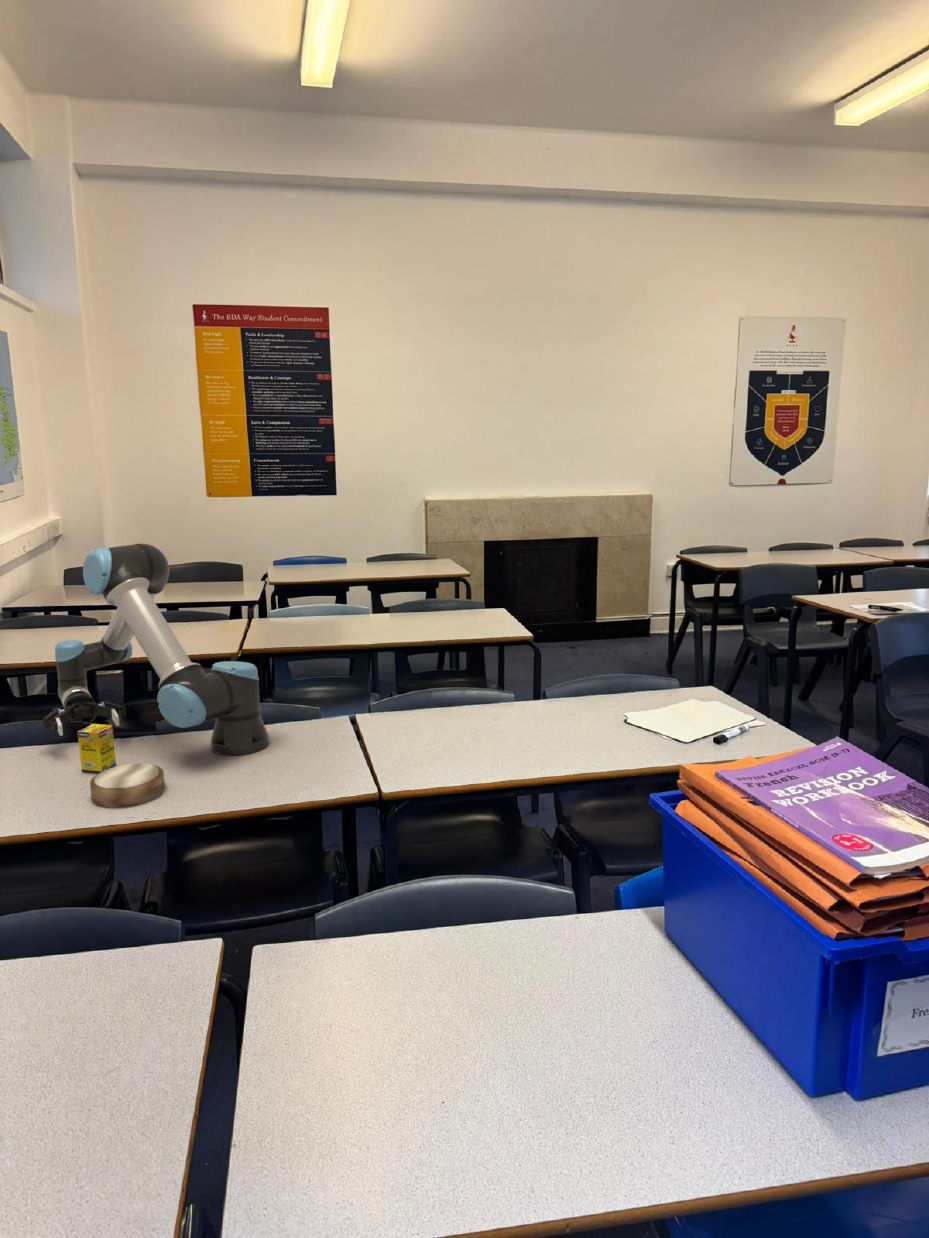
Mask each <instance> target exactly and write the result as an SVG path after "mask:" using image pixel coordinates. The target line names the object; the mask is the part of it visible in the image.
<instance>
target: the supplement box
mask: <svg viewBox="0 0 929 1238" xmlns="http://www.w3.org/2000/svg"><path fill="white" fill-rule="evenodd" d="M77 739H78V745H79V746H78V747H79V749H78V750H79V756H80V758H79V759H80V765H81V766H80V767H81V772H82V773H85V774H97V773H101V772H103V771H105V770H107V769H110V768H113V767H116V766H117V761H116V750H115V740H114V729H113V725H112V724H100V723H91V724H90V725H88V726H86V727H85V728H82V729H80V730H78V731H77Z"/></svg>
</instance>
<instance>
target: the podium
mask: <svg viewBox="0 0 929 1238" xmlns="http://www.w3.org/2000/svg"><path fill="white" fill-rule="evenodd" d="M164 773H165V772H164V770H163V768H162V767H160V766H158V765H155V764H150V763H149V764H148V763H128V764H122V765H121V764H120V765H116V766H114V767H112V768H110V769H107V770H105V771H103V772H101V773H99V774H97V773H96V775H94V776H93V777H92V778H91V779H90V782H89V787H90V788H89V789H90V796H91V802H92V803H93V804H94V805H96V806H98V807H101V808H107V809H108V808H111V809H120V808H130V807H135V806H139V805H143V804H145V803H148V802H152V801H153V800H155V799H158V797H160V796H161V795H162V794H163V793H164V792H165V790H166V785H165V784H166V783H165V774H164Z"/></svg>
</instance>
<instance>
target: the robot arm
mask: <svg viewBox="0 0 929 1238" xmlns="http://www.w3.org/2000/svg"><path fill="white" fill-rule="evenodd" d="M82 566H83V567H82V576H83V582H84V584H85V587H86V589H87V591H89V592H90V593H91V594H93V595H96V596H100V595H102V596H103V598H104V599H105V601H106V603H107V604H108V605H110V606H114V607H117V608H116V610H115V613H114V614H113V616H112V618H111V621H110V622H109V624H108V626H107V628H106V630H105V631H104V632H105V633H104V634H103V636H102V638H101V639H100V640H99V641H96V642H90V643H87V644H84V643H83V641H82V640H79V639H70V640H69V639H68V640H66V639H65V640H63V641H60V642H58V643H56V645H55V646H54V655H55V656H54V657H55V658H54V660H55V663H56V665H55V666H56V672H57V682H58V683H57V685H58V688H57V695H58V698H59V700H60V701H61V703H62V705H63V709H61V708H59V707H53V708H52V709H53V710H52V711H51V712H50V713H48V714H47V715H46V716H45V717H44V718H42V725H43V729H49V727H51V731H53V732H54V731H57V732H58V734H59V736H64V733H63V724H65V723H67V722H69V721H74V720H84V719H87V718H89V717H99V716H100V717H107V718H108V717H109V718H111V719H112V721H113V723H114V724H115V726H116V727H118V726H119V727H120V720H121V719H122V717H124V716H126V713H127V712H126V706H125V705H122V704H117V703H113V702H110V701H108V700H107V699H104V700H102V702H101V703H97V702H95V701H94V699H93V697H92V695H91V694H90V692H89V688H88V680H87V677H88V676H87V672H88V671H89V670H90V671H91V670H93V669H98V668H102V667H105V666H110V665H114V664H119V663H122V662H124V661H128V660H129V659H131V657H132V656H133V649H134V648H133V645H132V642H131V641H132V639H133V637H135V639H136V641H137V642H138V644H139V646H140V648H141V649H142V651H143V652H144V655H145V656H146V657H147V659H148V661H149V663H150V664H151V666H152V668H153V669H154V671H155V673H156V675H157V676H158V677H159V679H160V680H159V683H158V686H157V687H158V689H159V691H158V692H157V698H156V700H157V703H158V709H159V711H160V714H161V715H162V716H163V718H164V719H165V721H167V722H168V723H169V724H171V725H172V726H173V727H177V728H180V729H181V728H182V729H185V728H189V727H195V726H199V725H201V724H202V723H205V722H208V721H211V720H214V719H215V724H214V727H213V730H212V735H211V738H210V748H211V751H212V752H214V753H216V754H218V755H225V756H241V755H248V754H253V753H256V752H258V751H259V752H260V751H261V750H263V749H265V748H267V746H268V745H269V744H270V742H269V738H270V737H269V733H268V731H267V728H266V725H265V723H264V721H263V719H262V716H261V702H260V701H261V699H260V678H259V674H258V673H259V672H258V668H257V666H256V665H255V664H253V663H251V662H245V661H235V660H233V661H230V660H229V661H219V662H215V663H214V664H212V666H211V672H209V673H206V672H205V670H204V669H203V667H202V665H201V664H200V663H197V662H192V661H191V659H190V658H189V656H188V654H187V652H186V651H185V649H184V648H183V646H182V645H181V642H179V639H178V638H177V636H176V635H175V633H174V631H173V630H172V628H171V626H170V624H169V623H168V622H167V620H166V618H165V616H164V615H163V614H162V612H161V610H160V608H159V607H158V605H157V603H156V602H155V601H154V598H155V597H156V595H159V594H160V593H161V592H163V590H164V588H165V587H166V585H167V582H168V580H169V576H170V567H169V566H170V565H169V561H168V559H167V557H166V556H165V554H164V553H163V551H161V549H159V548H157V547H156V546H154V545H151V544H149V543H135V544H134V543H133V544H127V545H120V546H112V547H107V546H104V547H102V548H97V549H93V550H91V551H90V552H88V553H87V555H85V559H84V561H83V565H82Z"/></svg>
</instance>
